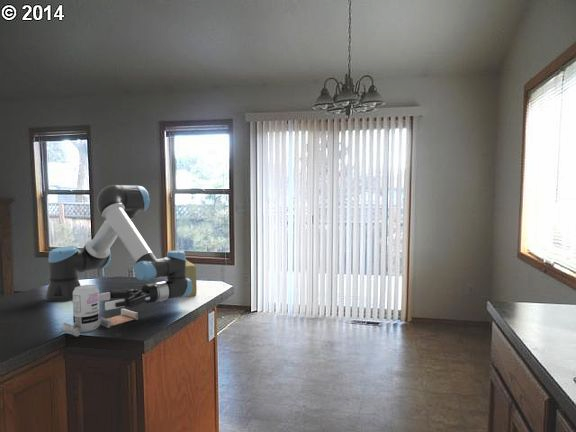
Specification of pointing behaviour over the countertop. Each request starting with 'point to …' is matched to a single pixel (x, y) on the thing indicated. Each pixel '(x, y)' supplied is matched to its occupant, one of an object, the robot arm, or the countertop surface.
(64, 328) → the rack with upright dividers
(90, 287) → the sparkling water can
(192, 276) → the cheese
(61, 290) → the robot arm
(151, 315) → the countertop surface
